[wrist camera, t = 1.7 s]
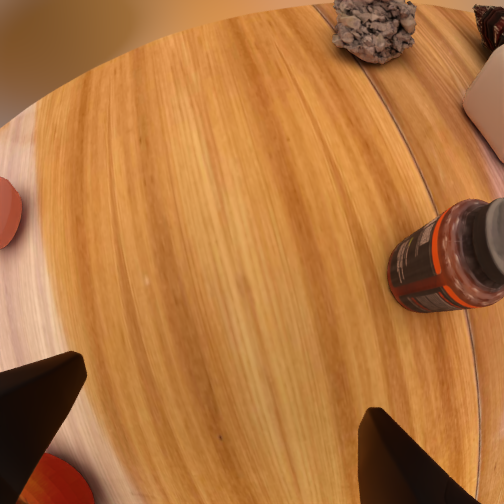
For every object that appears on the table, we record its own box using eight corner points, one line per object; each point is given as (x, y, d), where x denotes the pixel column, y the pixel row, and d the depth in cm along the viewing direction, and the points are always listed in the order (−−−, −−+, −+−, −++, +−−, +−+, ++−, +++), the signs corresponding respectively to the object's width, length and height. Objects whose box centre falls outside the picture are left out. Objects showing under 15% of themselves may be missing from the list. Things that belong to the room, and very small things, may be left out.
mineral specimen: (390, -7, 23) (395, -45, 15) (434, 49, 25) (455, 22, 16) (313, 30, 29) (297, -4, 20) (356, 86, 30) (355, 66, 21)
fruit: (111, 531, 17) (65, 579, 7) (41, 489, 18) (-14, 518, 8) (112, 471, 19) (49, 520, 9) (36, 426, 20) (-34, 448, 10)
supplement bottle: (450, 309, 20) (553, 297, 9) (386, 316, 20) (479, 313, 9) (443, 236, 21) (533, 183, 10) (380, 237, 21) (458, 172, 10)
